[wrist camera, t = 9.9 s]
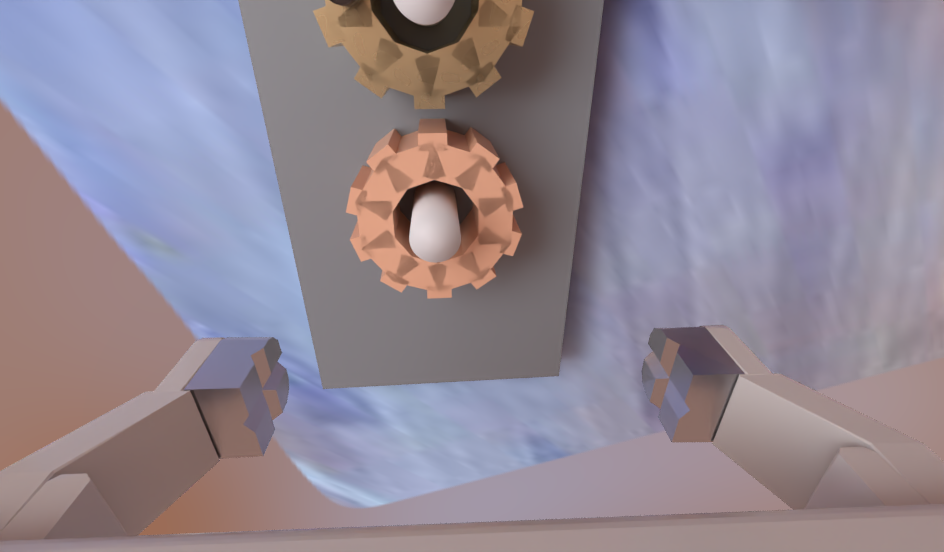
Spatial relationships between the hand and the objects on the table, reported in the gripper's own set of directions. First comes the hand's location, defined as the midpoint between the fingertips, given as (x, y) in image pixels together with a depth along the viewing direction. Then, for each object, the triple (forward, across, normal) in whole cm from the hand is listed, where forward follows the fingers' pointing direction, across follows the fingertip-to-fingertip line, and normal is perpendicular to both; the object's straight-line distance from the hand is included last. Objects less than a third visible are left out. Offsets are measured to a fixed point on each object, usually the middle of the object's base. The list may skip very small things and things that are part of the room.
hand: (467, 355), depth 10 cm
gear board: (+13, +1, 0) cm, 13 cm away
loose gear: (+11, +1, 0) cm, 11 cm away
